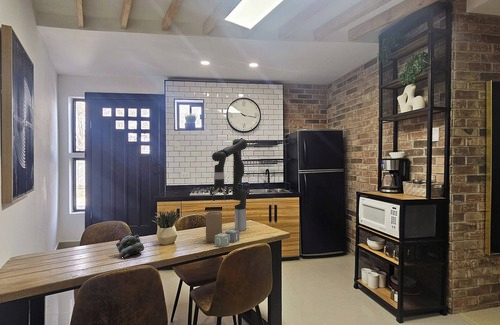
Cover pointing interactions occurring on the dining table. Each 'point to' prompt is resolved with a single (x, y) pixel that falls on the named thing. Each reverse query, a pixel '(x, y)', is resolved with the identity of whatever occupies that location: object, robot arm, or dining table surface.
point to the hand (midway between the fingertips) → (219, 200)
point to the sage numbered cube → (221, 240)
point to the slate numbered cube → (233, 235)
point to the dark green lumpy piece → (129, 245)
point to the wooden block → (213, 225)
